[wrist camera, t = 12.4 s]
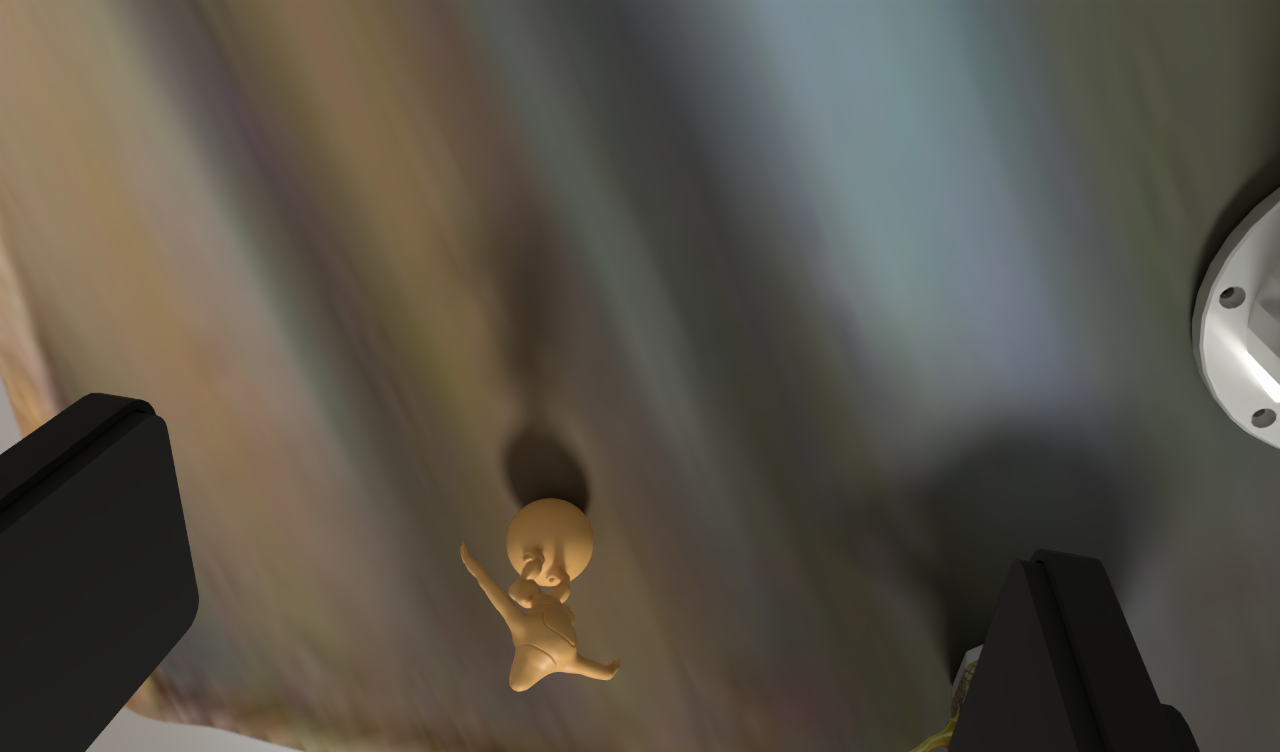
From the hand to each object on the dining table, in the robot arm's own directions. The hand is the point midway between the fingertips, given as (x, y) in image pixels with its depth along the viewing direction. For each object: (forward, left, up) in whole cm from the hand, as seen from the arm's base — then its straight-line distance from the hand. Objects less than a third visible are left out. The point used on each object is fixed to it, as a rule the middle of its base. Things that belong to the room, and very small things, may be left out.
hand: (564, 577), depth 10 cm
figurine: (+5, +20, -28) cm, 34 cm away
